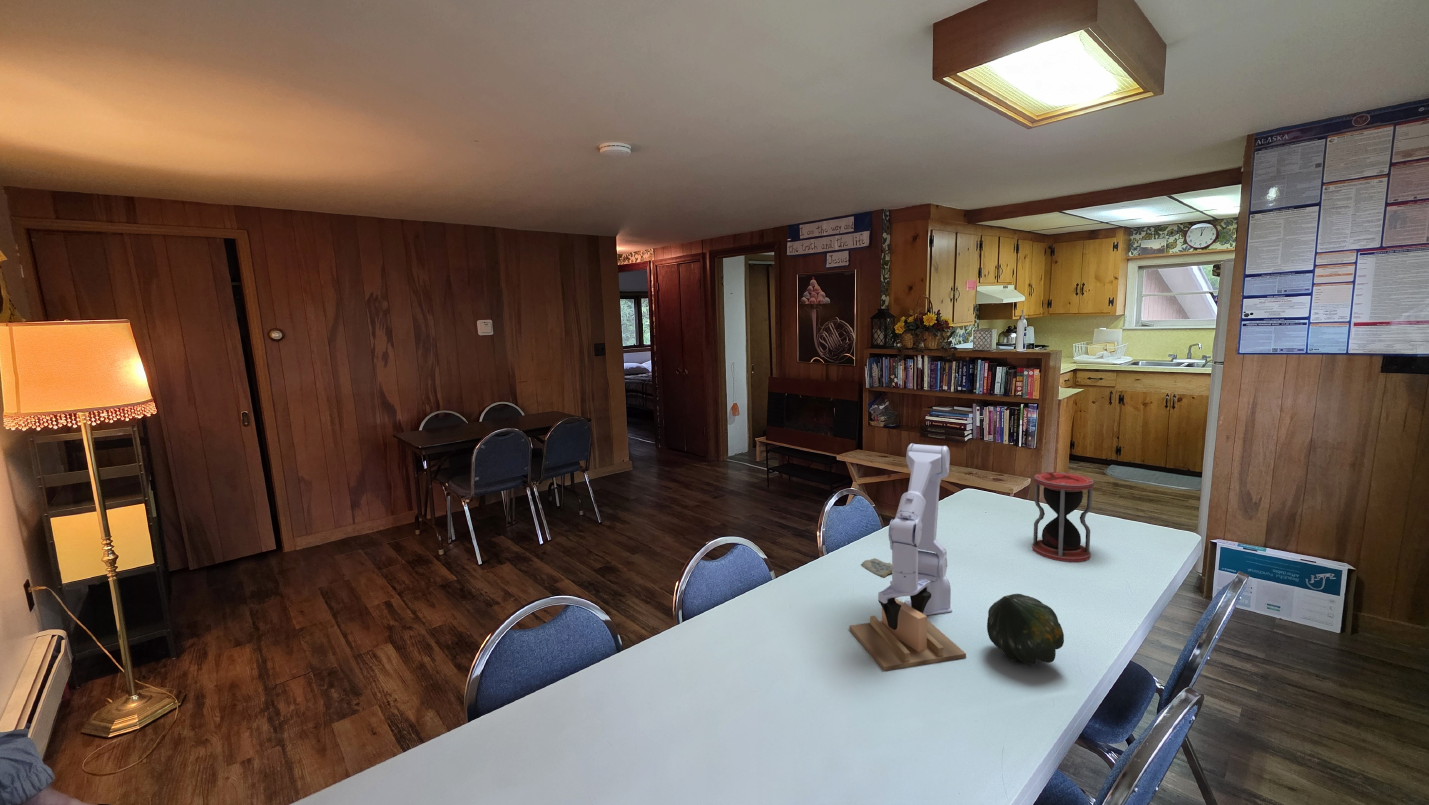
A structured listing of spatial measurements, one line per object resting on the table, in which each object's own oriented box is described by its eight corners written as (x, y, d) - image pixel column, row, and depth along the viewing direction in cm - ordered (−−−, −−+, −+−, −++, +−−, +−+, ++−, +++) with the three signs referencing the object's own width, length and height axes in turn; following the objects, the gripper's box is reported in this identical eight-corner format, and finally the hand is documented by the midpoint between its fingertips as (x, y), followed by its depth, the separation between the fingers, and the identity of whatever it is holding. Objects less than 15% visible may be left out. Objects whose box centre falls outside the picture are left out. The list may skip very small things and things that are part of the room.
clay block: (889, 625, 140) (889, 595, 139) (926, 649, 129) (926, 616, 128) (881, 628, 139) (881, 597, 138) (918, 651, 128) (918, 618, 127)
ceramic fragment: (908, 566, 171) (882, 569, 167) (907, 576, 171) (881, 579, 167) (884, 555, 181) (859, 557, 177) (883, 565, 181) (858, 567, 177)
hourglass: (1089, 549, 184) (1093, 474, 181) (1091, 567, 170) (1094, 487, 167) (1033, 540, 193) (1035, 469, 190) (1030, 557, 179) (1032, 481, 176)
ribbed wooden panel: (922, 618, 144) (922, 607, 144) (966, 657, 127) (966, 645, 126) (849, 629, 140) (849, 618, 140) (884, 670, 123) (884, 658, 123)
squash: (1034, 685, 116) (1036, 617, 114) (972, 650, 129) (973, 588, 127) (1075, 664, 123) (1078, 599, 121) (1011, 633, 136) (1013, 574, 134)
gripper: (914, 556, 138) (914, 608, 140) (869, 569, 132) (869, 624, 133) (937, 567, 132) (937, 621, 133) (890, 580, 125) (890, 637, 127)
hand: (904, 623), depth 133 cm, fingers open, 7 cm apart
